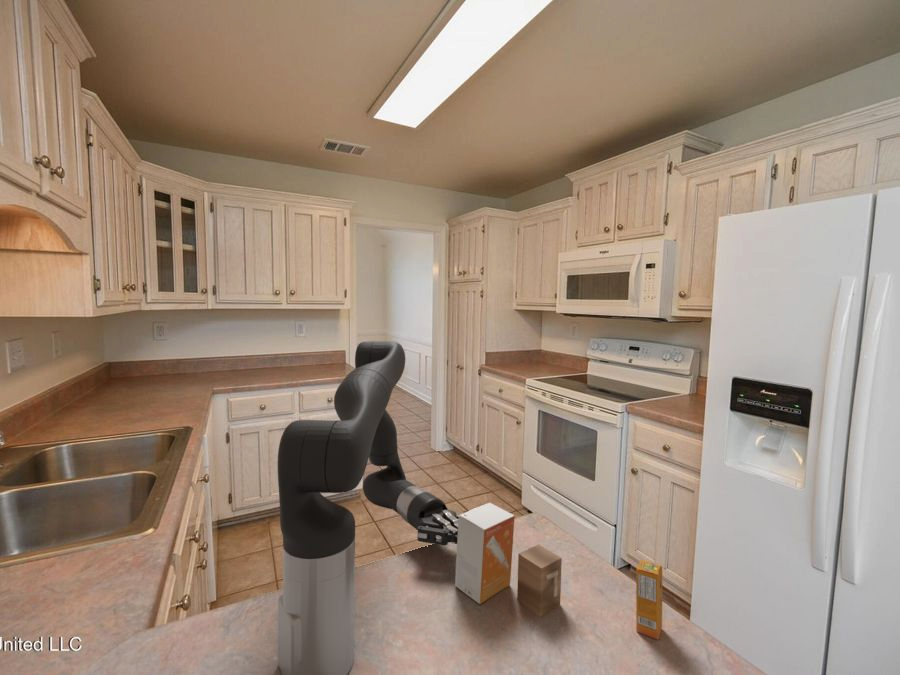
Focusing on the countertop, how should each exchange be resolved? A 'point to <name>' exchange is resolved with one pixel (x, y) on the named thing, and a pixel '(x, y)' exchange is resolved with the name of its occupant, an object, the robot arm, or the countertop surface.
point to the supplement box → (649, 599)
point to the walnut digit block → (539, 579)
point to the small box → (484, 551)
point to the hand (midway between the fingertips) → (472, 545)
